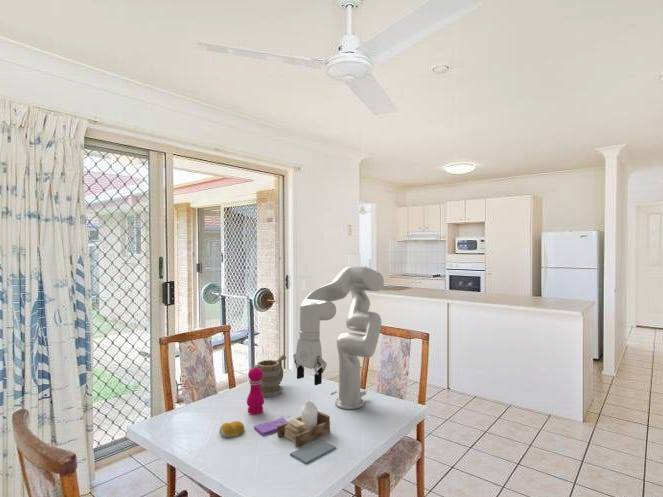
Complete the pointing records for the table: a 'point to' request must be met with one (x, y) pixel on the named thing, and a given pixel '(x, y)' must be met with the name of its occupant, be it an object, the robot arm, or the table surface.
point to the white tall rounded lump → (309, 415)
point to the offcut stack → (294, 429)
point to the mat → (313, 451)
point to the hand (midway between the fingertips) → (309, 381)
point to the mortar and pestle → (271, 376)
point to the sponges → (269, 426)
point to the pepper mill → (255, 392)
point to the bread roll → (231, 429)
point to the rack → (309, 430)
